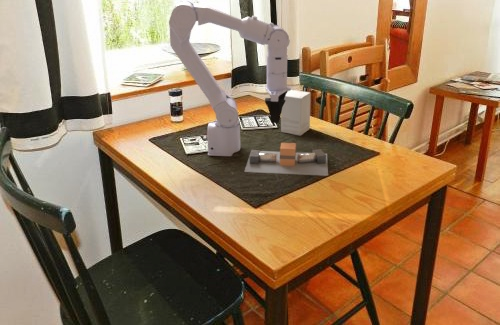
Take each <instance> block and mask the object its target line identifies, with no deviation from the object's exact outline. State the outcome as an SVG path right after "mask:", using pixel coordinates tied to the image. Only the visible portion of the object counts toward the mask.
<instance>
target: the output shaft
mask: <svg viewBox="0 0 500 325" xmlns="http://www.w3.org/2000/svg"><path fill="white" fill-rule="evenodd" d="M306 153H307V154H298V155H297V161H298V163H305V162H314V161H315V162H316V163H317V164H324V163H326V155H325V154H326V153H325V152H324V151H323V150H322V149H321V148H317V149H312V152H306Z"/></svg>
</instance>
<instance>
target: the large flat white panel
mask: <svg viewBox="0 0 500 325" xmlns="http://www.w3.org/2000/svg"><path fill="white" fill-rule="evenodd" d="M260 153H274V154H277V162H259V164H250V155H249V157H248V160H247V162H246V164H245V168H244V170H243V171H244V173H259V174H260V173H261V174H277V175H279V174H281V175H304V176H323V177H324V176H325V177H326V176H329V168H328V166H329V164H328V153H325V155H326V163H324V164H317V163H316V162H315V161H314V162H305V163H298V161H297V155H298V154H307V153H308V152H298V151H296V159H295V166H285V165H280V151H271V150H270V151H268V150H260Z"/></svg>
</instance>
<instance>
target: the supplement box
mask: <svg viewBox="0 0 500 325" xmlns="http://www.w3.org/2000/svg"><path fill="white" fill-rule="evenodd" d="M311 94H312V93H311V92H309V91H303V90H302V91H301V90H295V89H294V90H293V89H291V90H290V91H287V94H286V95H285V98H284V100H285V103H284V105H283V107H282V112H281V116H280V133H285V134H291V135H295V136H302V135H304V133H306V132H307V131H309V130H310V127H311V126H310V125H311V123H310V122H311V96H312V95H311Z"/></svg>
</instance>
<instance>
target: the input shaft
mask: <svg viewBox="0 0 500 325" xmlns="http://www.w3.org/2000/svg"><path fill="white" fill-rule="evenodd" d="M260 151H261V150H260V149H251V150H250V153H249V156H250V164H259V162H277V154H274V153H260Z"/></svg>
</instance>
